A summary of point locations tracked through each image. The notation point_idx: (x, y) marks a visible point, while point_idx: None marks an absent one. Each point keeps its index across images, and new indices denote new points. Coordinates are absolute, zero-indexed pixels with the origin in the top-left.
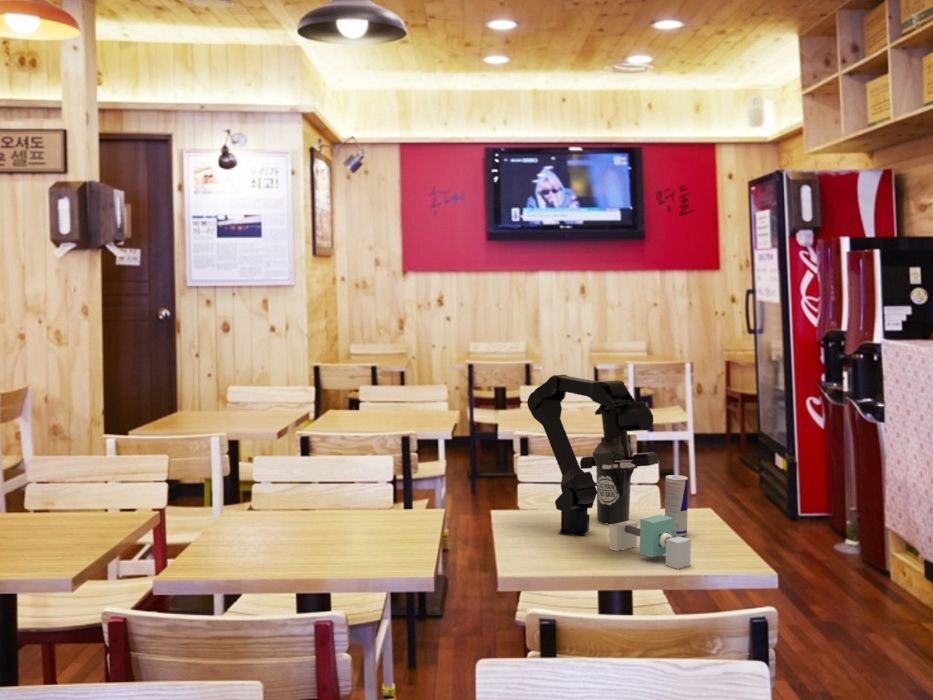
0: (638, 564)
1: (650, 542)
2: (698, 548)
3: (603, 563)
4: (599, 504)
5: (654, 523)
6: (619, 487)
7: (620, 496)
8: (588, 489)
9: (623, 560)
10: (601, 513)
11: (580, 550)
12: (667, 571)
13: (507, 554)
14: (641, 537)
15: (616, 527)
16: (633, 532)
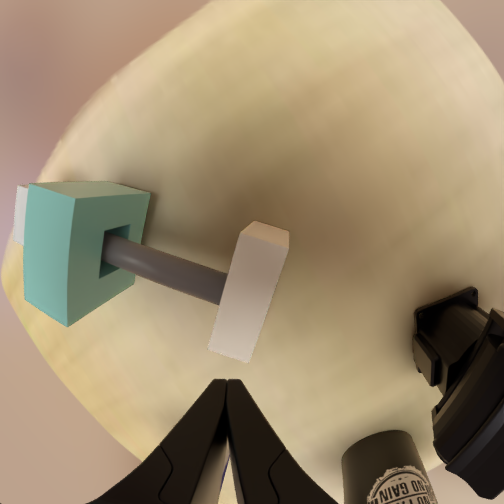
0: (143, 146)
1: (89, 183)
2: (111, 366)
3: (229, 85)
4: (416, 462)
5: (31, 189)
6: (229, 426)
7: (236, 380)
8: (475, 424)
9: (193, 149)
10: (405, 446)
11: (362, 163)
12: (75, 150)
13: (470, 43)
14: (116, 192)
15: (243, 232)
16: (181, 258)
